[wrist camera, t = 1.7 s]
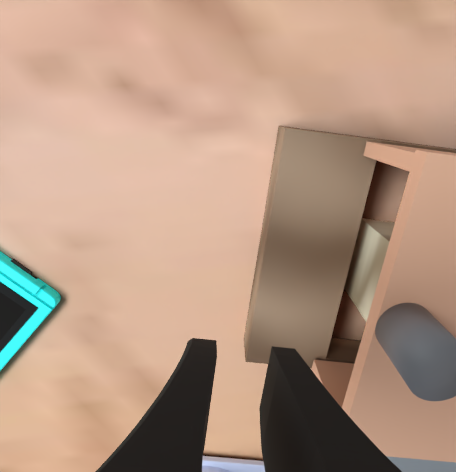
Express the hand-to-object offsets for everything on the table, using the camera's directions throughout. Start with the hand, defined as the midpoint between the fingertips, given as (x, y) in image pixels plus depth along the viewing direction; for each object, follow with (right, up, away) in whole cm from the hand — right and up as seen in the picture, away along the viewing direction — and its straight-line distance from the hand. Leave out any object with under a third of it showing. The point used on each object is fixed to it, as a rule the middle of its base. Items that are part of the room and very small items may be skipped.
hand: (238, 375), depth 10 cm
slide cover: (+8, +2, +8) cm, 12 cm away
